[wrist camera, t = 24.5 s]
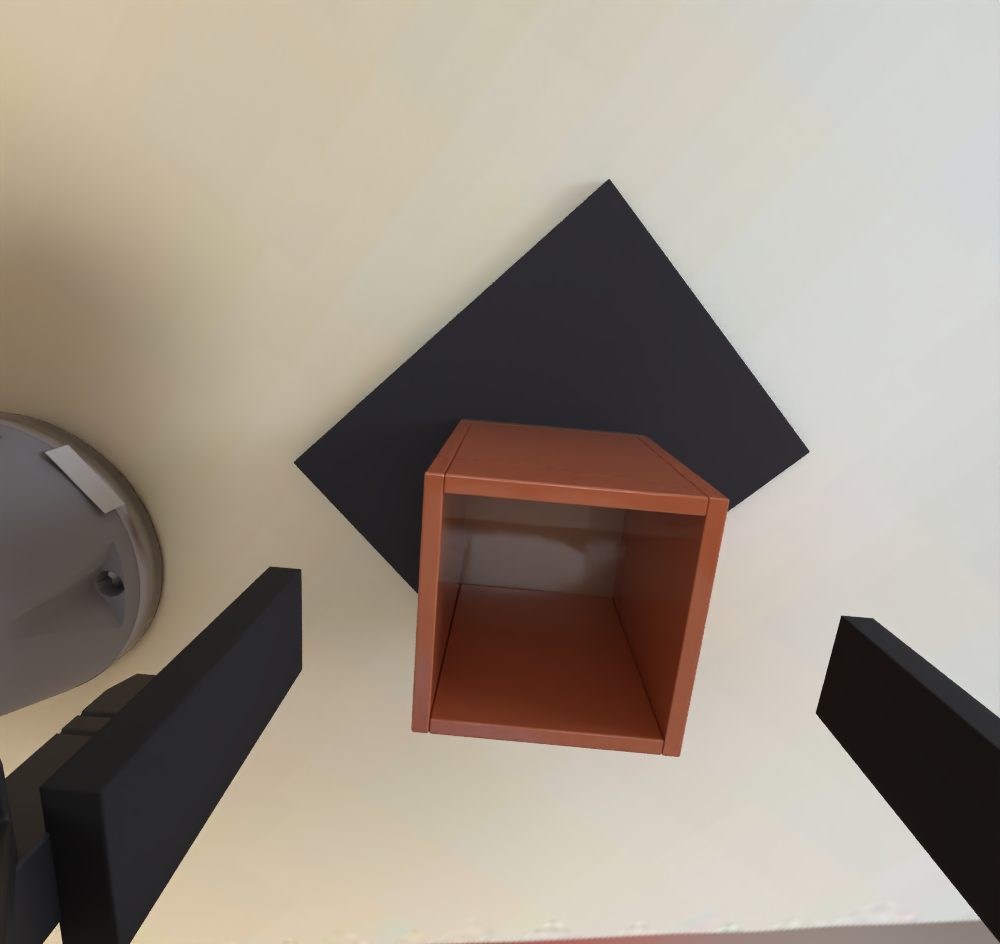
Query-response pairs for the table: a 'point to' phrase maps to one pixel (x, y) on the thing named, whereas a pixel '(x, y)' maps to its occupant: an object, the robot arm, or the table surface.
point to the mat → (559, 379)
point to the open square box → (562, 588)
